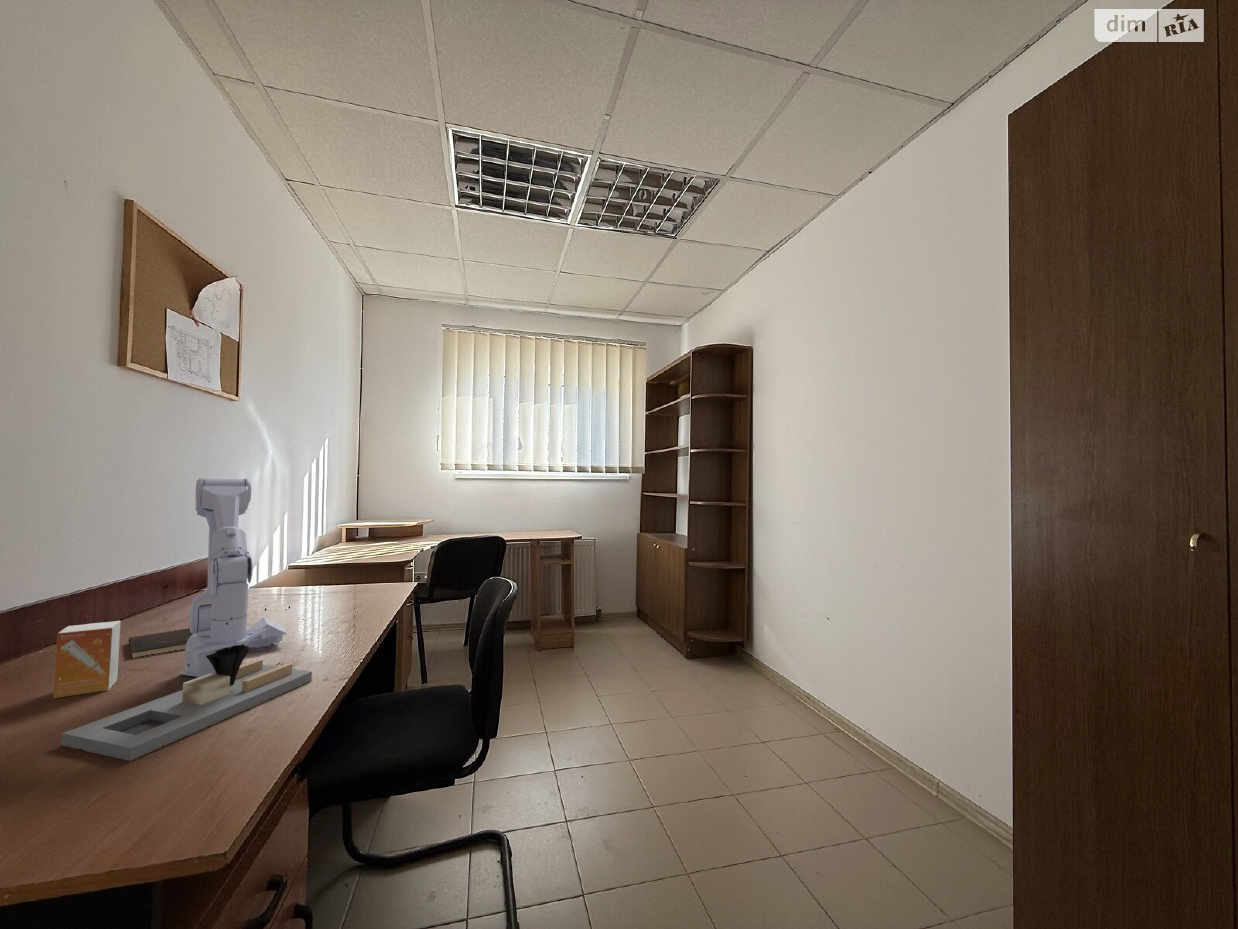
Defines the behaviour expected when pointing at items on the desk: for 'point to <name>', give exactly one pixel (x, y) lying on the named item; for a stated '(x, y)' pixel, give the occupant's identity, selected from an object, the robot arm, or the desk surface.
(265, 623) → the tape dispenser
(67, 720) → the desk surface
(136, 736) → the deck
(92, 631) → the small box
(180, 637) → the hardcover book
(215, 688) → the wooden block
